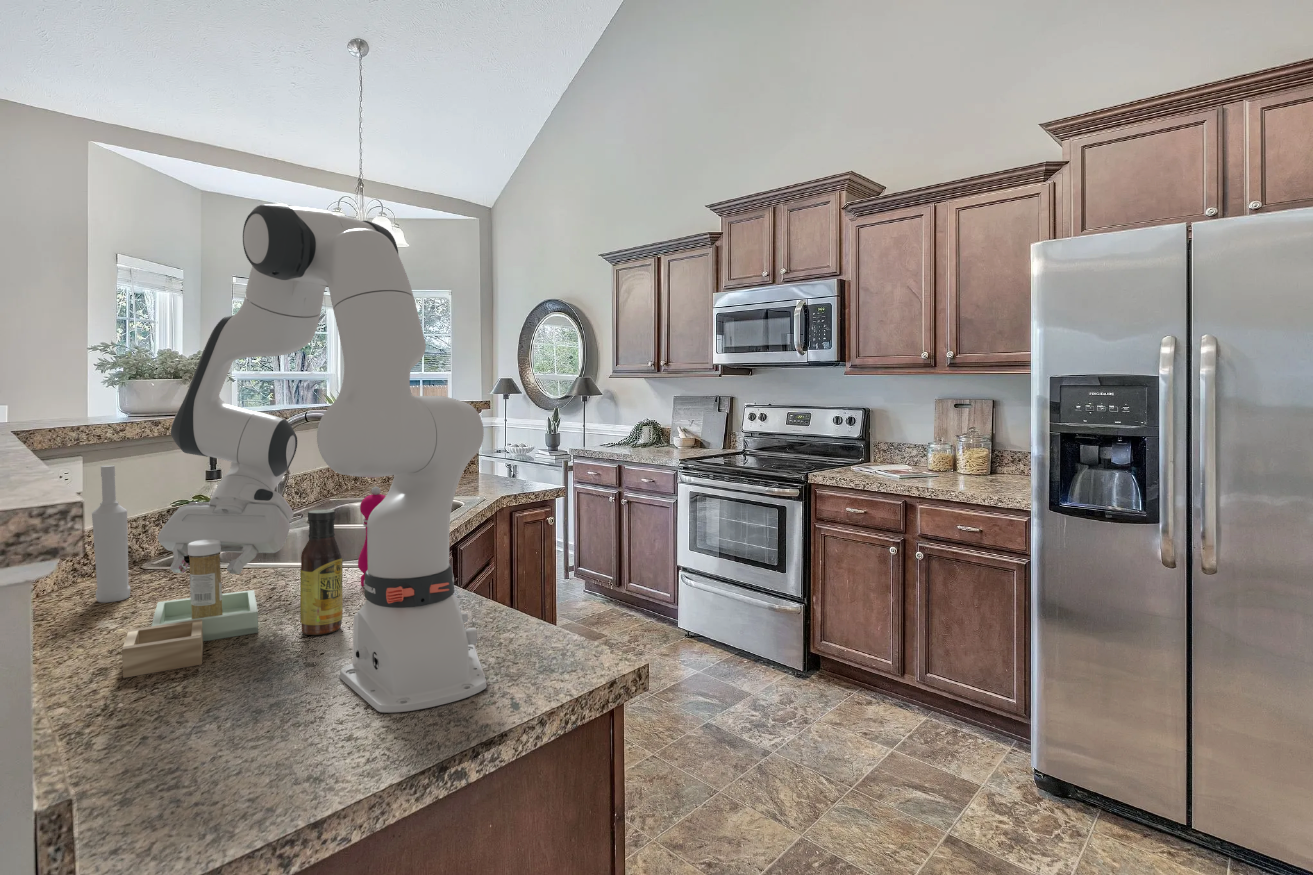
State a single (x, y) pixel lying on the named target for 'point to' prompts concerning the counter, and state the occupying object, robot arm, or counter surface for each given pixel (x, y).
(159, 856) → the counter surface
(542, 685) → the counter surface
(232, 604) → the sage tray
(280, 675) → the counter surface
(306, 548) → the sauce bottle
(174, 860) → the counter surface
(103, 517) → the bottle
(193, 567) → the sprinkles bottle
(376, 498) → the pepper mill
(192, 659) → the maple holder
